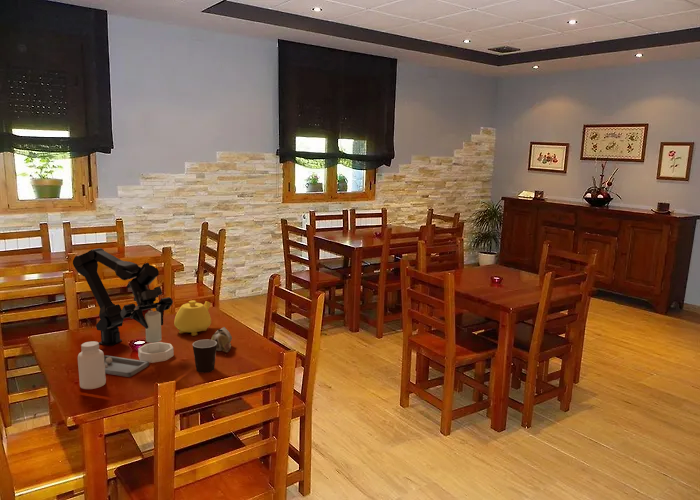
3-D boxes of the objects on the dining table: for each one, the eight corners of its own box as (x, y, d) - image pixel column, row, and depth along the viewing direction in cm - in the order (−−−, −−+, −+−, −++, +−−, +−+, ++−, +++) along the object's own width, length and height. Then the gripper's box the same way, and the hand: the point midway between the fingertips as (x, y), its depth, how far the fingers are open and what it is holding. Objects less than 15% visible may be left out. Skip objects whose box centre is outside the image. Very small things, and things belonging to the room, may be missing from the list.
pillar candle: (143, 342, 201) (142, 312, 199) (149, 337, 207) (148, 308, 205) (157, 343, 201) (157, 313, 199) (163, 337, 207) (163, 309, 204)
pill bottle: (85, 381, 184) (82, 339, 182) (109, 381, 185) (107, 339, 182) (75, 391, 177) (72, 348, 174) (100, 391, 177) (98, 348, 175)
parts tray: (83, 371, 192) (83, 363, 191) (105, 360, 202) (104, 352, 202) (129, 379, 187) (129, 370, 186) (149, 367, 197) (148, 359, 197)
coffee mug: (210, 375, 192) (210, 349, 190) (188, 372, 194) (188, 346, 192) (224, 363, 203) (224, 338, 202) (203, 360, 205) (203, 335, 203)
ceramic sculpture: (236, 323, 222) (228, 337, 208) (237, 342, 225) (229, 358, 210) (211, 322, 223) (201, 337, 208) (212, 342, 225) (202, 357, 210)
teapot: (196, 320, 251) (195, 292, 249) (224, 325, 246) (223, 296, 243) (166, 333, 233) (165, 303, 231) (196, 339, 227) (195, 308, 225)
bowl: (132, 361, 202) (132, 351, 201) (152, 350, 213) (151, 340, 213) (160, 365, 199) (160, 355, 198) (178, 354, 210) (178, 344, 210)
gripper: (122, 284, 196) (136, 320, 190) (170, 276, 209) (185, 310, 204) (114, 300, 203) (128, 335, 197) (161, 292, 216) (175, 325, 211)
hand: (154, 326), depth 202 cm, fingers closed on pillar candle, 6 cm apart
